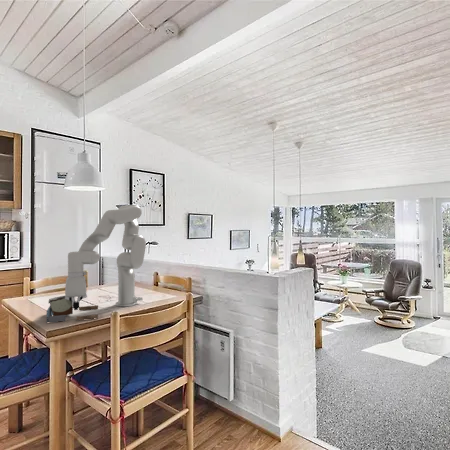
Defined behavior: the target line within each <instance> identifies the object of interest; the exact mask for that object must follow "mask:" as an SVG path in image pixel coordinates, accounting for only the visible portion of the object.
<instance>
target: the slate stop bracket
mask: <svg viewBox="0 0 450 450" xmlns="http://www.w3.org/2000/svg"><path fill="white" fill-rule="evenodd" d="M52 315H53V314H52V310H51V306H50V305H49V306H48V308H47V309H46V323H47V322H54V323H58V322H57V321H64V322H66V321H67V320H66V317H67V315H59V316H52Z"/></svg>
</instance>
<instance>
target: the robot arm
mask: <svg viewBox="0 0 450 450" xmlns="http://www.w3.org/2000/svg"><path fill="white" fill-rule="evenodd" d="M141 208H142V207H140V206H139V205H137V204H130V205H129V204H128V205H126V204H125V205H121V206H120V207H118V209H109V210H106V211H105V212H104V213H103V215H102V217H101V218H100V220H99V222H98V224H97V226H96V228H95V229H94V231H93V232H92V233H91V234H90V235H89V236H88V237H87V238H85V240H84V241H83V242H82V244H81V246H80V247H79V249H78V250H77V251H70V252H68V253H67V277H66V278H65V286H64V287H65V288H64V289H65V290H64V291H65V292H64V293H65V295H64V296H65V299H67V300H70V301H72V303H73V311H79V307H80V302H81V301H82V299H85V298H88V295H87V279H86V275H87V272H86V271H84V265H95V264H97V263H98V262H99V261H100V259H101V257H100V254H99V253H98V252H97V251H96V250H95V248H96V247H97V246H98V245H100V244H101V243H103V242H105V241H107V240H108V239H109V238H110V236H111V234H112V232H113V230H114V228H115V227H116V225H122V224H124V229H123V230H124V231H123V235H122V241H121V246H122V248H123V249H125V250H126V251H123V252H121V253H119V254H118V256H117V258H116V266H117V271H118V272H117V274H118V275H117V276H118V278H117V281H118V283H117V287H118V289H117V291H118V293H117V302H115V306H116V307H123V308H124V307H125V308H127V307H132V306H135V305H138V302H139V301H143V297H141V296H138V297H137V296H136V292H135V287H136V285H135V282H136V280H135V279H136V278H135V270H138V269H140V268H141V267H142V265H143V264H144V260H145V253H146V248H147V241H146V239H145V237H144V236H143V235H141V234H139V228H140V227H139V222H138V219H140V217H141V216H142V211H143V210H142V209H141ZM76 297H77V299H75V298H76Z"/></svg>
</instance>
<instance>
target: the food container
mask: <svg viewBox="0 0 450 450" xmlns="http://www.w3.org/2000/svg"><path fill="white" fill-rule="evenodd" d="M48 304H49V306H51V310H52V314H53V316H59V315H66V316H69V315H73V312H74V308H73V303H72V301H70V300H67V299H65V295H61V296H57V297H52V298H48Z"/></svg>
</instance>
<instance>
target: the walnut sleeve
mask: <svg viewBox="0 0 450 450" xmlns="http://www.w3.org/2000/svg"><path fill="white" fill-rule="evenodd" d="M91 309H94V310H99V305H98V304H97V305H87V306H79V308H78V311H79V310H83V311H90V310H91ZM91 311H92V310H91ZM75 318H76V319H75V321H76V320H80V321H85V320H84V319H91V320H95V319H94V318H98V319H99V316H98V314H89V315H76V317H75Z"/></svg>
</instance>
